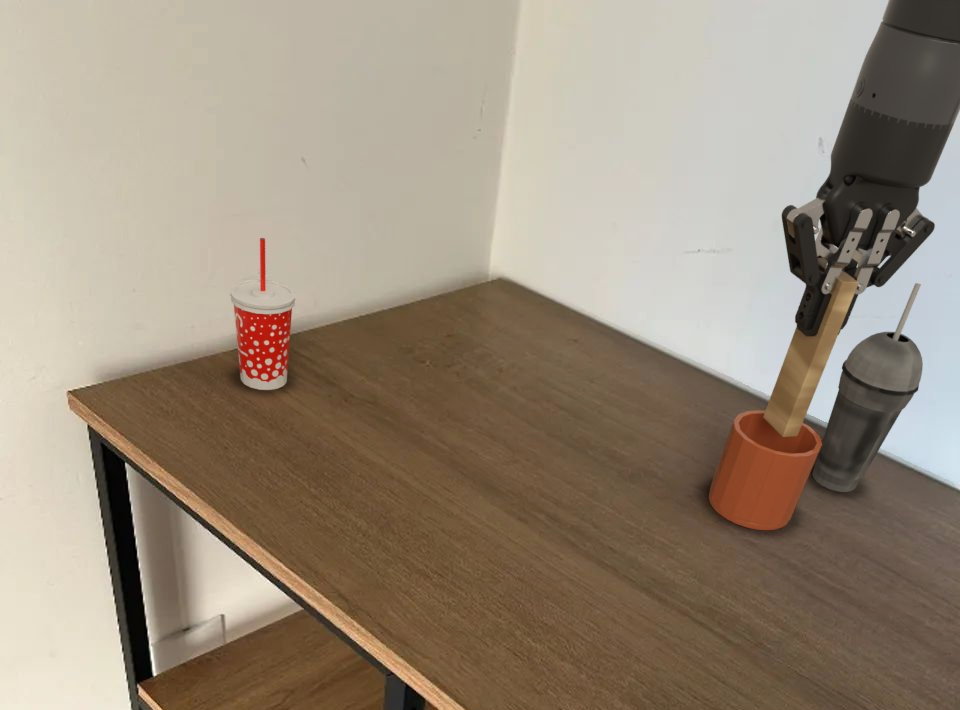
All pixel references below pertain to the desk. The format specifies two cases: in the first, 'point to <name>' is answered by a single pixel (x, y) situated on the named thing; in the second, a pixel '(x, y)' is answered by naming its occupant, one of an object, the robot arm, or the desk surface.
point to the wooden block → (807, 363)
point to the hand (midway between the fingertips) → (816, 331)
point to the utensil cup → (762, 472)
